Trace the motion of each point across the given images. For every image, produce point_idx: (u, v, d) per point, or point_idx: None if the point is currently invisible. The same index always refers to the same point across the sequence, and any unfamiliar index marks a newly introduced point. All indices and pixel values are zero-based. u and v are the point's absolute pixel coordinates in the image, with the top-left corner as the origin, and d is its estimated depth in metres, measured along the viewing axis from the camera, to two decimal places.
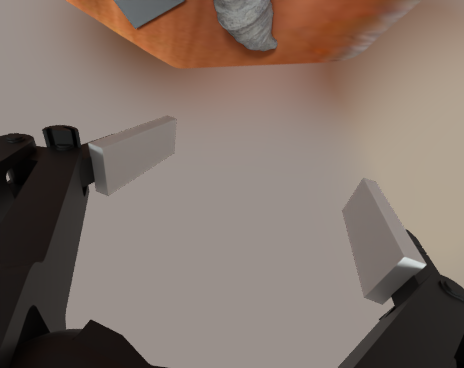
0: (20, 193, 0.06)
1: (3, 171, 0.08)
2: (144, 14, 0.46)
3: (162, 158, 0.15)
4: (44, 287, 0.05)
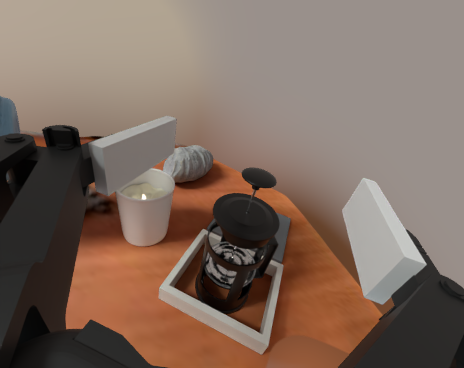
0: (20, 193, 0.06)
1: (3, 171, 0.08)
2: None
3: (162, 158, 0.15)
4: (44, 287, 0.05)
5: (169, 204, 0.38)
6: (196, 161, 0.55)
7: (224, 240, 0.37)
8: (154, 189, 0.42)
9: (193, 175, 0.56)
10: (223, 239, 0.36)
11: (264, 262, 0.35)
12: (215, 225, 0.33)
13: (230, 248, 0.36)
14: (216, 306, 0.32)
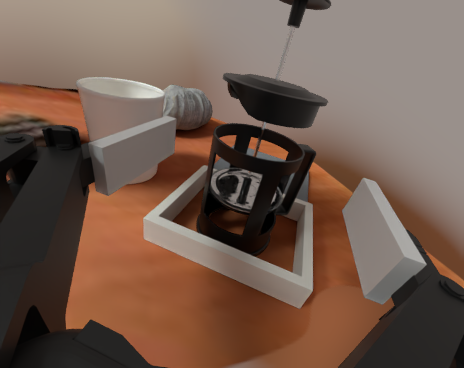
0: (20, 193, 0.06)
1: (3, 171, 0.08)
2: None
3: (162, 158, 0.15)
4: (44, 287, 0.05)
5: None
6: (192, 100, 0.45)
7: (235, 165, 0.27)
8: None
9: (188, 119, 0.46)
10: None
11: (291, 190, 0.25)
12: (224, 130, 0.23)
13: (243, 174, 0.26)
14: None
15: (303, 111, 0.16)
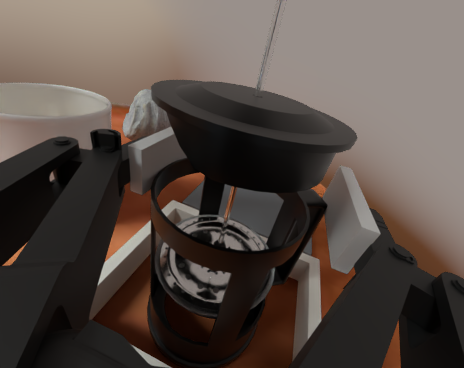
0: (64, 191, 0.07)
1: (47, 172, 0.08)
2: None
3: None
4: (73, 286, 0.05)
5: None
6: None
7: (206, 211, 0.18)
8: None
9: None
10: (204, 209, 0.18)
11: None
12: (181, 169, 0.14)
13: (219, 226, 0.18)
14: (187, 355, 0.14)
15: (309, 162, 0.07)
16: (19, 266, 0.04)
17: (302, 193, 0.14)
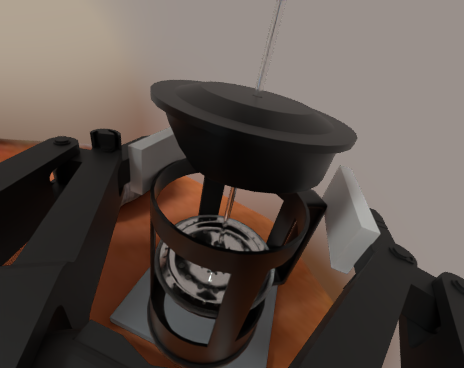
0: (64, 191, 0.07)
1: (47, 172, 0.08)
2: None
3: None
4: (72, 286, 0.05)
5: None
6: None
7: (206, 211, 0.18)
8: None
9: None
10: (204, 209, 0.18)
11: None
12: (180, 169, 0.14)
13: (218, 226, 0.18)
14: (187, 356, 0.14)
15: (309, 162, 0.07)
16: (19, 266, 0.04)
17: (302, 193, 0.14)
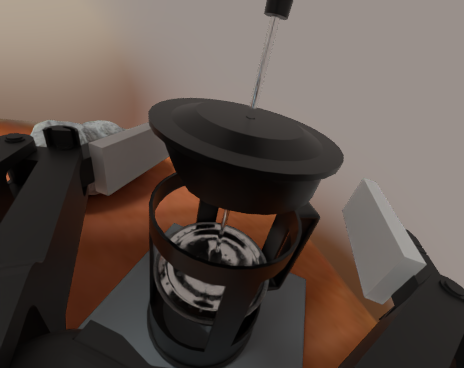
0: (20, 193, 0.06)
1: (3, 171, 0.08)
2: None
3: (162, 158, 0.15)
4: (44, 287, 0.05)
5: None
6: None
7: (204, 219, 0.19)
8: None
9: None
10: (202, 217, 0.19)
11: None
12: (178, 180, 0.15)
13: (216, 233, 0.18)
14: (185, 360, 0.14)
15: (297, 186, 0.08)
16: None
17: None
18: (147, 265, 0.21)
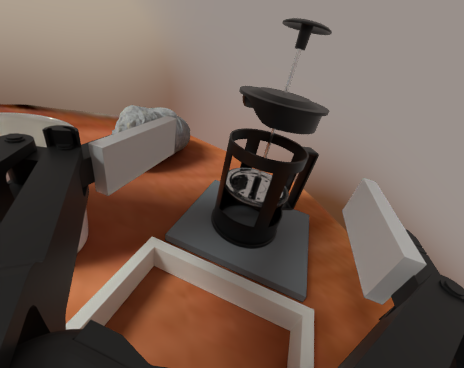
0: (20, 193, 0.06)
1: (3, 171, 0.08)
2: None
3: (162, 158, 0.15)
4: (44, 287, 0.05)
5: None
6: None
7: (245, 165, 0.30)
8: None
9: None
10: (244, 164, 0.29)
11: (296, 188, 0.28)
12: (237, 135, 0.26)
13: (253, 174, 0.29)
14: (241, 237, 0.25)
15: (308, 120, 0.19)
16: None
17: (304, 148, 0.25)
18: (204, 200, 0.32)
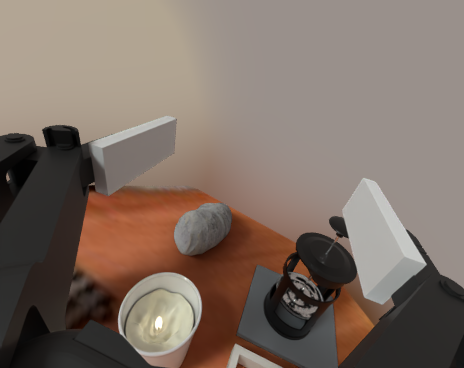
0: (20, 193, 0.06)
1: (3, 171, 0.08)
2: None
3: (162, 158, 0.15)
4: (44, 287, 0.05)
5: None
6: (215, 229, 0.45)
7: (288, 270, 0.40)
8: (170, 295, 0.32)
9: (211, 246, 0.46)
10: (287, 270, 0.40)
11: (326, 290, 0.39)
12: None
13: (294, 278, 0.40)
14: (290, 334, 0.36)
15: None
16: None
17: None
18: (255, 291, 0.43)
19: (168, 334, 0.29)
